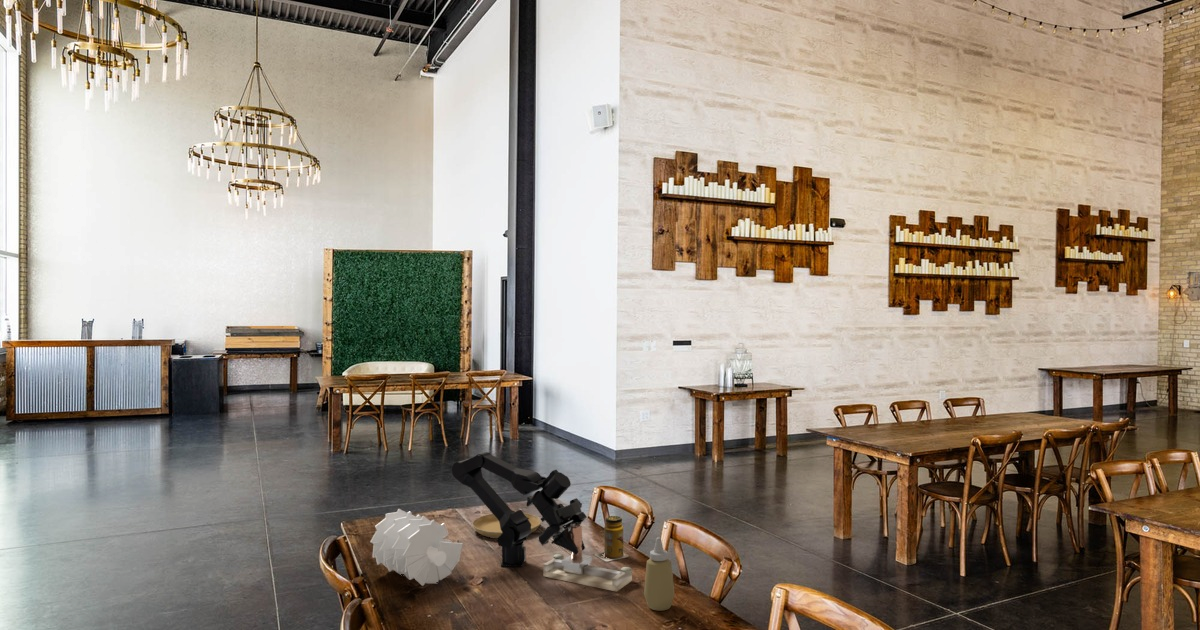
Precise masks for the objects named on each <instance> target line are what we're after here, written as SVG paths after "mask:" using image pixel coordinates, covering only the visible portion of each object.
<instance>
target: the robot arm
mask: <svg viewBox="0 0 1200 630" xmlns="http://www.w3.org/2000/svg"><path fill="white" fill-rule="evenodd" d="M482 469H485V470H486V471H488V472H490V473H492V474H494V475H496V476H497V477H500V478H502V479H504V480H506V481H507V482H509V483H510V484H511V485H512V487H513V488H514V489H515V490H516V491H517V492H519V494H521V495H524V496H527V495H529V494H531V493H534V494H533V495H529V496H527V497H526V500H527V501H526V505H525V506H526V507H531V506H534V507H535V509H536V510H537V511H538V513H539V514H540V515H541V516H542V517H541V518H540V519H541V523H542V522H546V523H547V525H548V526H547V527H546V528H545V529H544V530H542V532H541V533H540V534H539V536H538V542H539V543H540V544H541V546H543V547H544V546H545V545H547V544H548V543H549V542H550V541H549V540H550V539H553V540H552V541H551V544H552V545H553V544H554V545H556V546H559V547H561V548H564V549H565V550H566V551H568V552H570V553H571V552H573V553H575V554H577V553H578V552H579V551H578V549H577V548H576V546H575V544H574V543H573V541H572V540H571V526H573V525H580V526H581V524H582V523H583V522H584V521H585V520H586V519H587V518H588V517H587V515H586V513H585V512H584V511H582V506H583V503H582V502H581V501H580V500H579V499H578V498H576V497H575V498H574V499H571V500H569V504H566V505H564V504H563V503H558V502H557V501H556V500H558V499H559V498H561V496H562V495H563V494H564V493H565V492H566V491H567V490H568V489H569V488H570V487H571V484H572V483H571V481H570V478H569V476H567V475H565V474H564V473H562V472H559V471H558V469H553V470H551V472H550V473H549V475H548V476H547V477H545V476H543V475H541V474H540V473H539V472H537V471H535V470H530V469H523V468H520V467H519V468H518V467H516V466H515V465H513V464H510V463H509V462H506V461H505V460H502V459H500V458H499V457H496V456H494V455H492V453H491V452H488V451H484V452H480V453H477V454H476V455H474V456H473V457H470V458H466V459H463V460H461V461H457V462H454V463H453V464H452V467H451V475H452V477H453V478H454V479H455V480H456V481H457V482H459V484H461V485H463V486H465V487H468V488H469V489H471V490H472V491H473V492H474V493H475V495H476V496H477V498H479V499H480V501H481V502H482V503H483V504H484V505H485V507H486V508H487V509H488V510H489V511H490V512H491V514H494V516H495V517H496V518H497V519H498V520H499V523H500V528H501V531H502V534H501V535H500V536H499V537H498V538H496V542H497V544H498V547H501V560H502V561H501V563H500V566H501V567H522V566H523V565H524V563H525V562H526V558H527V557H526V556H527V555H526V546H525V542H526V541H527V540H528V539H529V538H528V537H529V535H531V534H530V532H531V523H530V522H529V520H528V519H529V518H528V517H526V516H525V515H524V513H525V512H523V510H521V509H518V510H512V509H511V508H510V506H509V505H508V504H507V503H506V502H505V501H504V499H503V498H501V497H500V495H499V494H498V493H497V492H496V491H495V490H494V488H493V487H492V486H491V485H490V484H489V483H488V482H487V480H486V479H485V478H484V476H483V471H482ZM540 489H541V490H540ZM585 549H586V546H585V543H584V541H583V539H582V551H584V550H585Z"/></svg>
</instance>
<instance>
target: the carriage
mask: <svg viewBox="0 0 1200 630" xmlns="http://www.w3.org/2000/svg"><path fill="white" fill-rule="evenodd" d="M571 540H572V541H573V543H574V544H575V546H576V548H577V549H578V551H579V552H578V553H577V554H575V553H573V552H571V551H570V555H568V556H566V557H564V559H563V560H562V566H564V571H565V572H570V573H575V574H580V575H582V574H583V566H585V565H590V566H591V563H592V562H593V557H592V555H587V554H583V550H582V540H583V526H582V525H581V524H580V525H573V526H571Z"/></svg>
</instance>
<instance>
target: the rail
mask: <svg viewBox="0 0 1200 630" xmlns="http://www.w3.org/2000/svg"><path fill="white" fill-rule="evenodd" d="M563 559H565V555H563V554H561V553H559V554H557V553H556V554H553V557H552V559H550V560H548V561H547V562H544V563H543V564H542V565H543V566H542V568H543V572H542V573H543V575H542V576H543V577H545V578H546V577H547V578H550V579H556V580H559V581H560V580H561V581H565V582H569V583H573V584H577V585H578V584H579V585H583V586H588V587H593V588H599V589H603V590H607V591H612V592H619V591H620V590H621V589H622V588H624V587H626V585H628V584H630V583H631V582H632V581H633V574H632V573H633V569H632V568H631V567H629V566H623V567H621V568H620V570H615V569H610V568H606V567H605V568H603V567H600V566H594V565H591V564H590V565H585V566H583V574H582V575H580V574H575V573H570V572H565V571H564V566H562V560H563Z"/></svg>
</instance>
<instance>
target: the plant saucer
mask: <svg viewBox="0 0 1200 630" xmlns="http://www.w3.org/2000/svg"><path fill="white" fill-rule="evenodd" d="M523 513H524V515H525V516H526V517H528V518H529V519H528V520H529V522H530V523H531V532H530V534H529V535H531V534H532V533H534V532H535V531H537V530H538V528H539V527H540V525H541V524H542V520H541V518H540V517H539V516H537V515H534V514H532V513H527V512H523ZM471 525H472V527H473V529H474V530H475V532H477V533H478V534H480V535H481V536H484V537H486V538H489V537H490V539H497V538H498V537H499V536H500V535H501V534H502V531H501V528H500V523H499V520H498V519H497V518H496V517H495V516H494V514H493V513H489V514H488V513H487V514H485V515H481V516H479V517H477V518H475V519H474V520H473V521H472V523H471Z"/></svg>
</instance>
